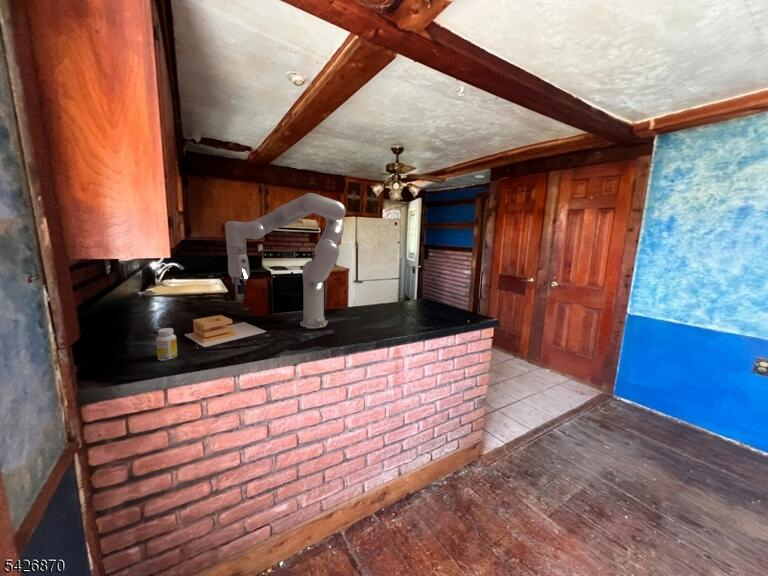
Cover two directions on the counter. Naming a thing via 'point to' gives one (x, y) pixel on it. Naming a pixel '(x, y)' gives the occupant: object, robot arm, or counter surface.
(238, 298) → the pin
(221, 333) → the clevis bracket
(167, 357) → the supplement bottle
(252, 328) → the mat
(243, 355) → the counter surface
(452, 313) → the counter surface
